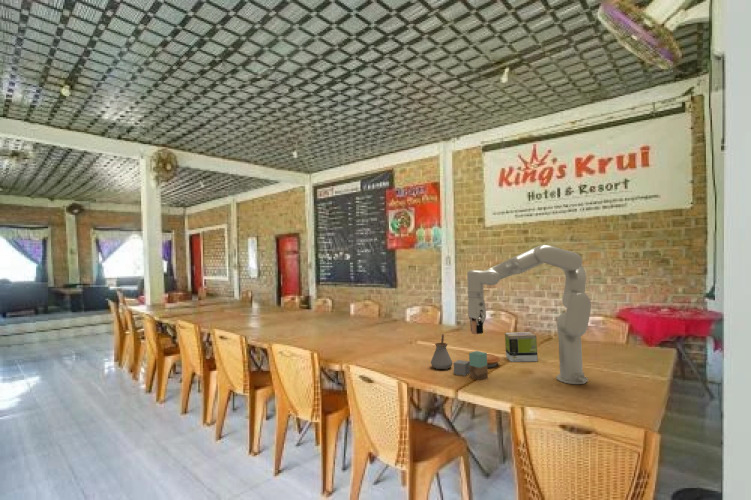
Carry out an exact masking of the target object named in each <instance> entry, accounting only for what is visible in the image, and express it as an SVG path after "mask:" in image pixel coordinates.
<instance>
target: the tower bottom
mask: <svg viewBox="0 0 751 500" xmlns="http://www.w3.org/2000/svg"><path fill="white" fill-rule="evenodd" d="M488 371H489V370H488V368H487V366H484V367H481V368H478V367H474V366H470V373H469V377H470V378H472V377H473V378H472V379H474V378H475V379H474V380H476V379H477V380H476V381H482V380H486V378H487V379H489V377H488V376H489V373H488ZM481 379H482V380H481Z"/></svg>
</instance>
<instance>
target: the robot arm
mask: <svg viewBox="0 0 751 500" xmlns="http://www.w3.org/2000/svg"><path fill="white" fill-rule="evenodd" d="M543 264H547V265H550V266H553V267H555V268H556V267H557V268H560V269H561V270H562V271H563V273H564V275H565V281H564V283H565V284H564V288H563V289H564V290H563V295H562V300H561V301H562V305H563V306H564V307H565V308H566V311H565V312H562V313H560V314H559V315H558V317H557V318H556V328H557V337H558V356H559V357H558V358H559V374H557V375H556V380H557V381H559V382H561V383H564V384H569V385H583V384H586V383H587V382H588V381H589V378H588V377H587V376H585V372H583V371H584V370H583V351H582V349H583V347H582V346H583V345H582V336H584V335H585V334H586V332H587V330H588V328H589V322H590V317H591V311H592V302H591V298H590V297H589V295H588V294H587V293H586V285H587V273H586V271H585V270H586V269H584V266H583V259H582V256H581V255H580V254H579V253H577V252H574V251H570V250H569V249H568V250H567V249H563V248H559V247H557V246H553V245H550V244H540V245H538V246H537V245H536V246H535V247H533V248H530V249H528V250H526V251H524V252H522V253H519V254H518V255H514V256H513V257H510V258H509V259H507V260H504V261H502V262H501V263H499V264H498V263H497V264H496V265H494V266H491V267H490V268H487V269H485V270H481V269H471V270H468V271H467V274H466V276H467V316H468V318H469V323H470V324H471V321H472V320H476V321H477V325H476V330H477V334H476V335H481V334H480V333H482V334H484V328H483V327H484V323H485V321H486V318H487V310H486V309H487V308H486V303H485V295H484V285H486V286H487V285H488V286H495V285H497V284H498V283H499V282H500V281H501V280H503V279H505V278H508V277H510V276H515V275H520V274H522V273H525V272H527V271H530V270H531V269H534V268H536V267H538V266H541V265H543ZM479 320H480V321H479Z"/></svg>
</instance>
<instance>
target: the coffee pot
mask: <svg viewBox="0 0 751 500" xmlns="http://www.w3.org/2000/svg"><path fill="white" fill-rule="evenodd" d="M440 337H441V339H440V340H441V342H436V343H434V345H435V351H434V353H433V356H432V358H431V361H430V364H431V366H432V367H433V368H434V369H435V368H436V369H435V370H437V369H447V370H449V369H450V368H451V367H452V365H453V361H452V359H451V356H450V354H449V352H448V349H447V346H448V343H446V342H444V339H445V334H442V335H441V336H440ZM448 368H449V369H448Z"/></svg>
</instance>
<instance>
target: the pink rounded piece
mask: <svg viewBox="0 0 751 500" xmlns="http://www.w3.org/2000/svg"><path fill="white" fill-rule="evenodd" d="M479 321H480V320H479ZM476 325H477V321H476V320H472V321H471V323H470V333H471V334H472V335H478V334H477V330H476ZM481 334H483V333H480V334H479V335H481Z"/></svg>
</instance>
